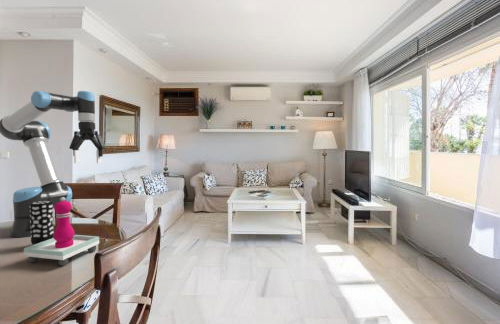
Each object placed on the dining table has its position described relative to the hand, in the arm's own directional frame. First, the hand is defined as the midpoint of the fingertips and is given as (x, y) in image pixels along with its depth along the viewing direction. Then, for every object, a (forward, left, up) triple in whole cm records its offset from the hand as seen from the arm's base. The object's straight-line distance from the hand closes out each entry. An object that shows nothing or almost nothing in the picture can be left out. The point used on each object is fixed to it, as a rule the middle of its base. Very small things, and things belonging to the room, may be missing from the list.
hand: (88, 162), depth 143 cm
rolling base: (+15, -30, -37) cm, 50 cm away
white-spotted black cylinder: (-5, -22, -37) cm, 43 cm away
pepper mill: (+15, -30, -32) cm, 46 cm away
